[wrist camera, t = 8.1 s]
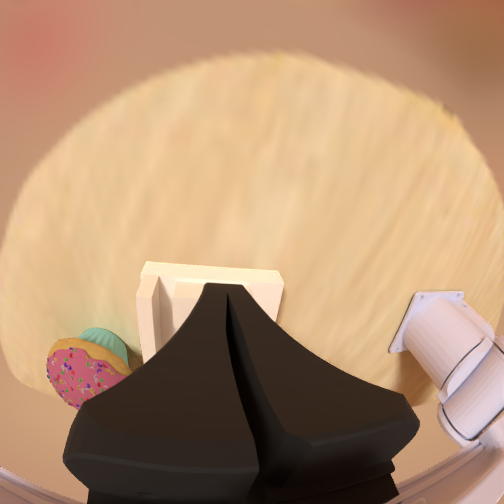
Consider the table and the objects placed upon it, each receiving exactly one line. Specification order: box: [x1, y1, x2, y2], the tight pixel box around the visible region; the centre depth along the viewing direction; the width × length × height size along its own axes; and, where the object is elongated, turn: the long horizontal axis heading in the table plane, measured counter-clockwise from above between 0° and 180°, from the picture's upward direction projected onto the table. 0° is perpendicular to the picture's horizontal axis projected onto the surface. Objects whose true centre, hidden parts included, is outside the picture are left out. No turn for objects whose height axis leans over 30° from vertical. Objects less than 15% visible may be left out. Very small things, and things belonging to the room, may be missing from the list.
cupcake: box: [46, 328, 132, 410], centre depth 17 cm, size 9×8×12 cm
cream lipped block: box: [136, 261, 284, 363], centre depth 21 cm, size 10×13×5 cm
